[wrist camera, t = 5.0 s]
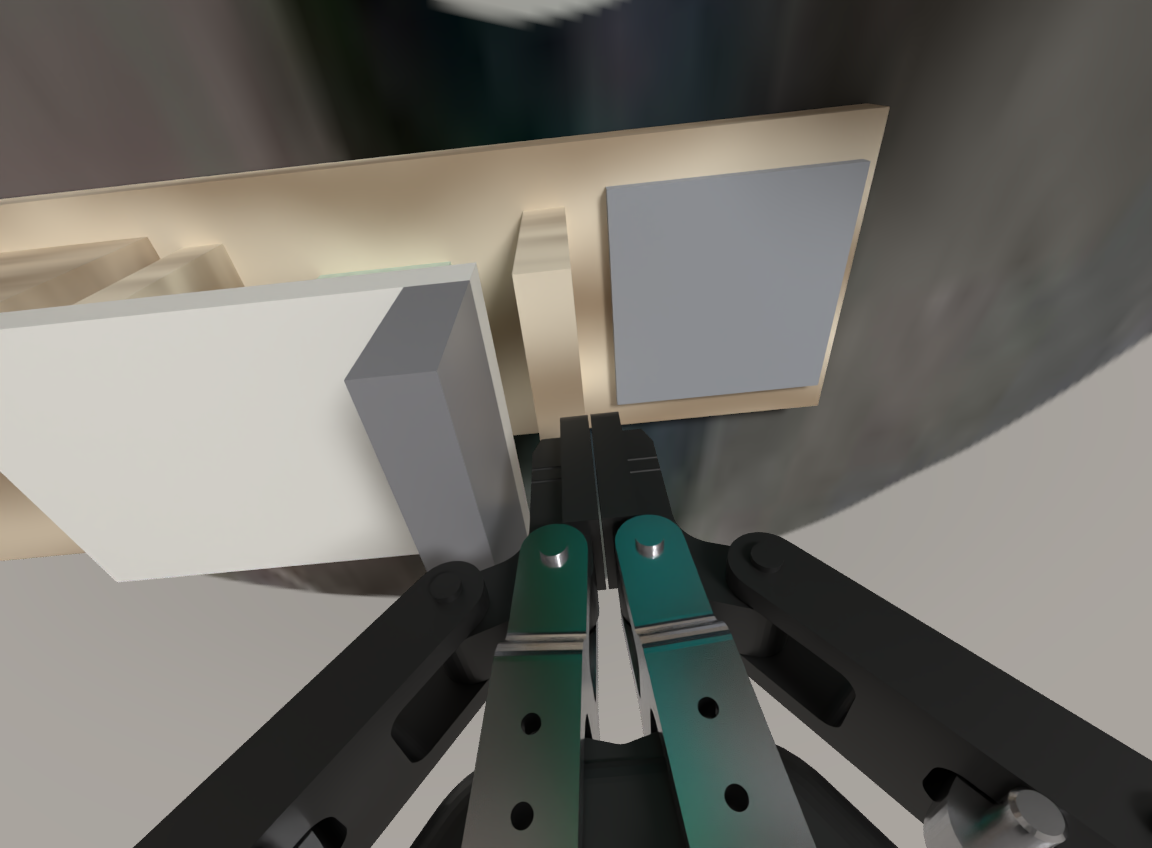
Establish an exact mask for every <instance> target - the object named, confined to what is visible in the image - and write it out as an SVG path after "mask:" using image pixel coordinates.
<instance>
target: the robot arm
mask: <svg viewBox="0 0 1152 848" xmlns="http://www.w3.org/2000/svg"><path fill="white" fill-rule="evenodd" d="M590 416H591V426H592V436H593V446H594V456H595V465H596V475H597V484H598V493H599V502H600V511H601V520H602V529H603V538H604V547H605V556H606V565H607V575H608V584H609V589H614V588H618V592H619V599H620V608H621V620H622V626H623V631H624V635H625V640H626V645H627V650H628V655H629V659H630V664H631V669H632V674H633V679H634V683H635V688H636V693H637V698H638V702H639V708H640V713H641V720H642V727H643V734H644V737H642V738H639V739H637V740H634V741H632V742H629V743H626V744H614V743H609V742H604V741H600V731H599V716H598V616H599V604H598V603H599V602H598V591H597V590H606V583H605V573H604V563H603V554H602V544H601V535H600V525H599V516H598V506H597V496H596V487H595V477H594V468H593V458H592V449H591V440H590V430H589V421H588V415H581V416H571V417H562V418H560V438H550V439H541V441H540V443H539V444H538V446H537V447H536V449H535V451H534V452H533V458H532V484H531V503H530V526H529V535H528V536H527V537H526V539H525V540H524V541H523V543H522V545H521V549H520V550H519V551H518V552H517V553H516V554H515V555H514V556H512V557H511V558H509V559H508V560H506V561H504V562H502V563H499V564H497V565H494V566H492V567H489V568H486V569H484V570H481V571H479V569H478V568H477V567H475V566H474V565H472V564H470V563H468V562H464V561H450V562H446V563H443V564H440V565H438V566H436V567H434V568H432V569H431V570H429V571H428V572H427V573H426V574H424V575H423V576H422V577H421V578H420V579H419V580H418V581H417V582H416V583H415V584H414V585H413V586H412V587H410V588H409V589H408V590H407V591H406V592H405V593H404V594H403V595H402V596H401V597H400V598H399V599H398V600H397V601H396V602H395V603H393V604H392V605H391V606H390V607H389V608H388V609H387V610H386V611H385V612H384V613H383V614H382V615H381V616H380V617H378V618H377V619H376V620H375V621H374V622H373V623H372V624H371V625H370V626H369V627H368V628H367V629H366V630H365V631H364V632H362V633H361V634H360V635H359V636H358V637H357V638H356V639H355V640H354V641H353V642H352V643H351V644H350V645H349V646H348V647H346V648H345V649H344V650H343V651H342V653H340V654H339V655H338V656H337V657H336V658H335V659H334V660H333V661H332V662H331V663H329V664H328V665H327V666H326V667H325V668H324V669H323V670H322V671H321V672H320V673H319V674H318V675H317V676H316V677H314V678H313V679H312V680H311V681H310V682H309V683H308V684H307V685H306V686H305V687H304V688H303V689H302V690H301V691H300V692H299V693H297V694H296V695H295V696H294V697H293V698H292V699H291V700H290V701H289V702H288V703H287V704H286V705H285V706H284V707H283V708H282V709H280V710H279V711H278V712H277V713H276V714H275V715H274V716H273V717H272V718H271V719H270V720H269V721H268V722H267V723H265V724H264V725H263V726H262V727H261V728H260V729H259V730H258V731H257V732H256V733H255V734H254V735H253V736H252V737H251V738H249V740H247V741H246V742H245V743H244V744H243V745H242V746H241V747H240V748H239V749H238V750H237V751H236V752H235V753H233V754H232V755H231V756H230V757H229V758H228V759H227V760H226V761H225V762H224V763H223V764H222V765H221V766H220V767H219V768H218V769H216V770H215V771H214V772H213V773H212V774H211V775H210V776H209V777H208V778H207V779H206V780H205V781H204V782H203V783H202V784H200V785H199V786H198V787H197V788H196V789H195V790H194V791H193V792H192V793H191V794H190V795H189V796H188V797H187V798H186V799H185V800H184V801H182V802H181V803H180V804H179V805H178V806H177V807H176V808H175V809H174V810H173V811H172V812H171V813H170V814H169V815H168V816H166V817H165V818H164V819H163V820H162V821H161V822H160V823H159V824H158V825H157V826H156V827H155V828H154V829H153V830H151V831H150V832H149V833H148V834H147V835H146V836H145V837H144V838H143V839H142V840H141V841H140V842H139V843H138V844H136V846H134V847H133V848H371V846H372V845H373V843H375V841H376V840H377V839H378V837H379V836H380V835H381V834H382V832H383V831H384V830H385V829H386V827H387V826H388V825H389V823H390V822H391V821H392V820H393V818H394V817H395V816H396V815H397V813H398V812H399V811H400V809H401V808H402V807H403V806H404V804H405V803H406V802H407V801H408V799H409V798H410V797H411V796H412V794H413V793H414V792H415V791H416V789H417V788H418V787H419V785H420V784H421V783H422V782H423V780H424V779H425V778H426V776H427V775H428V774H429V773H430V771H431V770H432V769H433V768H434V766H435V765H436V764H437V763H438V761H439V760H440V759H441V757H442V756H443V755H444V754H445V752H446V751H447V750H448V749H449V747H450V746H451V745H452V743H453V742H454V741H455V740H456V738H457V737H458V736H459V734H460V733H461V732H462V731H463V729H464V728H465V727H466V726H467V724H468V723H469V722H470V721H471V719H472V718H473V717H474V715H475V714H476V713H477V712H478V711H479V709H480V708H481V706H482V705H483V704H484V703H485V701H486V706H485V712H484V718H483V724H482V729H481V735H480V741H479V747H478V753H477V759H476V764H475V770H474V772H472V773H471V774H469V775H468V776H467V777H466V778H465V779H464V780H463V781H461V782H460V783H459V784H458V785H457V786H456V787H455V788H454V789H453V790H452V791H451V792H450V793H449V795H448V796H447V797H446V798H445V799H444V800H443V802H442V803H441V804H440V805H439V807H438V808H437V809H436V811H435V812H434V814H433V815H432V816H431V818H430V819H429V821H428V822H427V824H426V825H425V826H424V828H423V829H422V831H421V832H420V834H419V835H418V837H417V838H416V839H415V841H414V842H413V844H412V845H411V846H410V848H898V847H897V846H896V845H895V844H894V843H892V842H891V841H890V840H889V839H888V838H887V837H886V836H885V835H884V834H883V833H882V832H881V831H880V830H879V829H878V828H877V827H876V826H874V825H873V824H872V823H871V822H870V821H869V820H868V819H867V818H866V817H865V816H864V815H863V814H862V813H861V812H860V811H859V810H858V809H856V808H855V807H854V806H853V805H852V804H851V803H850V802H849V801H848V800H847V799H846V798H845V797H844V796H843V795H842V794H840V793H839V792H838V791H837V790H836V789H835V788H834V787H833V786H832V785H831V784H830V783H829V782H828V781H827V780H826V779H825V778H823V776H821V775H820V774H819V773H818V772H817V771H816V770H815V769H813V768H812V767H810V766H809V765H808V764H807V763H806V762H804V761H803V760H801V759H800V758H799V757H797V756H795V755H794V754H792V753H791V752H789V751H787V750H786V749H784V748H782V747H780V746H778V745H776V744H775V743H774V740H773V737H772V735H771V732H770V730H769V727H768V725H767V722H766V720H765V717H764V715H763V712H762V710H761V707H760V705H759V702H758V700H757V697H756V695H755V692H754V689H753V687H752V685H751V682H750V680H749V677H750V678H751V679H752V680H754V681H755V682H756V683H757V684H758V685H759V686H761V687H762V688H763V689H764V690H765V691H767V692H768V693H769V694H770V695H771V696H773V697H774V698H775V699H776V700H777V701H778V702H780V703H781V704H782V705H783V706H784V707H786V708H787V709H788V710H789V711H791V713H793V714H794V715H795V716H796V717H797V718H799V719H800V720H801V721H802V722H803V723H805V724H806V725H807V726H808V727H809V728H810V729H812V730H813V731H814V732H815V733H816V734H818V735H819V736H820V737H821V738H822V739H824V740H825V741H826V742H827V743H828V744H829V745H831V746H832V747H833V748H834V749H835V750H837V751H838V752H839V753H840V754H841V755H842V756H844V757H845V758H846V759H847V760H849V761H850V762H851V763H852V764H853V765H854V766H856V767H857V768H858V769H859V770H860V771H861V772H863V773H864V774H865V775H866V776H868V777H869V778H870V779H871V780H872V781H873V782H875V783H876V784H877V785H878V786H879V787H880V788H882V789H883V790H884V791H885V792H887V793H888V794H889V795H890V796H891V797H892V798H894V799H895V800H896V801H897V802H898V803H900V804H901V805H902V806H903V807H904V808H905V809H907V810H908V811H909V812H910V813H911V814H912V815H914V816H915V817H916V818H917V819H918V820H920V821H921V822H922V823H923V824H924V826H923V827H924V838H925V843H926V846H927V848H1152V761H1151V760H1150V759H1148V758H1146V757H1145V756H1143V755H1141V754H1140V753H1138V752H1136V751H1135V750H1133V749H1131V748H1130V747H1128V746H1126V745H1125V744H1123V743H1121V742H1120V741H1118V740H1116V739H1115V738H1113V737H1112V736H1110V735H1108V734H1107V733H1105V732H1103V731H1102V730H1100V729H1098V728H1097V727H1095V726H1093V725H1092V724H1090V723H1088V722H1087V721H1085V720H1083V719H1082V718H1080V717H1078V716H1077V715H1075V714H1073V713H1072V712H1070V711H1068V710H1067V709H1065V708H1064V707H1062V706H1060V705H1059V704H1057V703H1055V702H1054V701H1052V700H1050V699H1049V698H1047V697H1045V696H1044V695H1042V694H1040V693H1039V692H1037V691H1035V690H1033V689H1032V688H1030V687H1029V686H1027V685H1025V684H1024V683H1022V682H1020V681H1019V680H1017V679H1015V678H1014V677H1012V676H1011V675H1009V674H1007V673H1006V672H1004V671H1002V670H1001V669H999V668H997V667H996V666H994V665H992V664H991V663H989V662H987V661H986V660H984V659H982V658H981V657H979V656H977V655H976V654H974V653H972V652H971V651H969V650H967V649H966V648H964V647H963V646H961V645H959V644H958V643H956V642H954V641H953V640H951V639H949V638H948V637H946V636H944V635H943V634H941V633H939V632H938V631H936V630H934V629H933V628H931V627H929V626H928V625H926V624H924V623H923V622H921V621H919V620H917V619H916V618H914V617H913V616H911V615H909V614H908V613H906V612H905V611H903V610H901V609H900V608H898V607H896V606H895V605H893V604H891V603H890V602H888V601H886V600H885V599H883V598H881V597H880V596H878V595H876V594H875V593H873V592H872V591H870V590H868V589H866V588H865V587H863V586H862V585H860V584H858V583H857V582H855V581H853V580H851V579H850V578H848V577H847V576H845V575H843V574H842V573H840V572H838V571H837V570H835V569H833V568H832V567H830V566H828V565H826V564H825V563H823V562H822V561H820V560H819V559H817V558H815V557H813V556H812V555H810V554H809V553H807V552H805V551H804V550H802V549H800V548H799V547H797V546H795V545H794V544H792V543H790V542H789V541H787V540H785V539H783V538H781V537H779V536H776V535H773V534H769V533H763V532H754V533H748V534H745V535H742V536H740V537H738V538H737V539H736V540H735V541H734V542H733V543H732V544H731V546H727V545H721V544H716V543H710V542H705V541H702V540H699V539H696V538H694V537H692V536H690V535H689V534H687V533H686V532H684V531H683V530H682V529H681V528H680V527H679V526H678V525H677V523H676V522H675V520H674V518H673V515H672V511H671V507H670V504H669V500H668V496H667V492H666V489H665V485H664V481H663V477H662V474H661V471H660V466H659V462H658V459H657V455H656V451H655V447H654V443H653V441H652V440H651V438H650V437H649V436H648V435H647V434H646V433H645V432H644V431H643V430H642V429H634V430H625V431H622V427H621V422H620V417H619V412H618V411H617V412H608V413H598V414H590ZM748 676H749V677H748Z"/></svg>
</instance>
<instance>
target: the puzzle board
mask: <svg viewBox="0 0 1152 848" xmlns="http://www.w3.org/2000/svg"><path fill="white" fill-rule="evenodd" d="M889 109H890V107H889V106H882V105H875V104H868V103H865V104H856V105H847V106H838V107H829V108H820V109H811V110H802V111H793V112H784V113H775V114H766V115H757V116H748V117H739V118H730V119H721V120H711V121H702V122H693V123H684V124H675V125H666V126H657V127H648V128H639V129H630V130H621V131H612V132H603V133H594V134H585V135H576V136H567V137H558V138H549V139H540V140H531V141H522V142H513V143H504V144H495V145H486V146H477V147H468V148H459V149H449V150H440V151H431V152H422V153H413V154H404V155H395V156H386V157H377V158H368V159H359V160H350V161H341V162H332V163H323V164H314V165H305V166H296V167H287V168H278V169H269V170H260V171H251V172H242V173H233V174H224V175H215V176H206V177H197V178H187V179H178V180H169V181H160V182H151V183H142V184H133V185H124V186H115V187H106V188H97V189H88V190H79V191H70V192H61V193H52V194H43V195H34V196H25V197H16V198H7V199H0V313H2V312H12V311H21V310H31V309H40V308H49V307H59V306H68V305H78V304H87V303H97V302H106V301H116V300H125V299H135V298H144V297H153V296H163V295H172V294H182V293H191V292H201V291H210V290H220V289H229V288H238V287H248V286H257V285H267V284H276V283H286V282H295V281H305V280H314V279H317V278H318V277H319V276H320V275H327V274H337V273H346V272H355V271H365V270H374V269H384V268H393V267H403V266H412V265H421V264H431V263H440V262H450V261H451V265H456V264H465V263H475V262H476V264H477V269H478V273H479V278H480V283H481V287H482V292H483V297H484V302H485V306H486V311H487V316H488V320H489V325H490V330H491V334H492V339H493V344H494V349H495V353H496V358H497V363H498V367H499V372H500V377H501V382H502V386H503V391H504V396H505V400H506V405H507V410H508V414H509V419H510V424H511V429H512V433H513V435H522V434H532V433H539V435H540V441H541V439H550V438H560V418H562V417H571V416H581V415H588V421H589V428H592V426H591V416H590V414H598V413H608V412H617V411H618V412H619V417H620V422H621V425H623V424H633V423H644V422H654V421H664V420H674V419H684V418H694V417H705V416H715V415H725V414H735V413H745V412H755V411H766V410H776V409H786V408H796V407H806V406H816V405H818V402H819V398H820V394H821V389H822V385H823V381H824V377H825V373H826V369H827V365H828V361H829V356H830V352H831V348H832V344H833V340H834V336H835V332H836V328H837V323H838V319H839V315H840V311H841V307H842V303H843V299H844V295H845V290H846V286H847V282H848V278H849V274H850V270H851V266H852V262H853V257H854V253H855V249H856V245H857V241H858V237H859V233H860V229H861V224H862V220H863V216H864V212H865V208H866V204H867V200H868V196H869V191H870V187H871V183H872V179H873V175H874V171H875V167H876V163H877V158H878V154H879V150H880V146H881V142H882V138H883V134H884V130H885V125H886V121H887V117H888V113H889ZM857 159H865V160H868V161H871V162H870V166H869V171H868V175H867V179H866V183H865V187H864V192H863V196H862V200H861V204H860V209H859V213H858V217H857V221H856V226H855V230H854V234H853V238H852V243H851V247H850V251H849V255H848V260H847V264H846V268H845V272H844V277H843V281H842V285H841V289H840V294H839V298H838V302H837V306H836V310H835V315H834V319H833V323H832V327H831V332H830V336H829V340H828V344H827V349H826V353H825V357H824V361H823V366H822V370H821V374H820V378H819V383H818V385H814V386H804V387H794V388H784V389H774V390H764V391H754V392H744V393H734V394H723V395H713V396H703V397H693V398H683V399H673V400H663V401H653V402H643V403H633V404H623V405H618V404H617V399H616V381H615V361H614V342H613V322H612V303H611V283H610V264H609V244H608V225H607V205H606V187H608V186H617V185H627V184H636V183H645V182H654V181H664V180H673V179H682V178H691V177H700V176H710V175H719V174H728V173H737V172H747V171H756V170H765V169H774V168H783V167H793V166H802V165H811V164H820V163H830V162H839V161H848V160H857ZM79 553H86V552H85V551H84V550H83V549H81V548H80V547H79V546H78V545H77V544H76V543H75V542H74V541H73V540H72V539H71V538H70V537H69V536H68V535H67V534H66V533H65V532H64V531H62V530H61V529H60V528H59V527H58V526H57V525H56V524H55V523H54V522H53V521H52V520H51V519H50V518H49V517H48V516H47V515H46V514H45V513H43V512H42V511H41V510H40V509H39V508H38V507H37V506H36V505H35V504H34V503H33V502H32V501H31V500H30V499H29V498H28V497H27V496H26V495H25V494H23V493H22V492H21V491H20V490H19V489H18V488H17V487H16V486H15V485H14V484H13V483H12V482H11V481H10V480H9V479H8V478H7V477H6V476H4V475H3V474H2V473H1V472H0V561H5V560H16V559H26V558H37V557H47V556H57V555H68V554H79Z"/></svg>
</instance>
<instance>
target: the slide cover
mask: <svg viewBox="0 0 1152 848" xmlns="http://www.w3.org/2000/svg"><path fill="white" fill-rule="evenodd" d="M0 472H1V473H2V474H3V475H4V476H6V477H7V478H8V479H9V480H10V481H11V482H12V483H13V484H14V485H15V486H16V487H17V488H18V489H19V490H20V491H21V492H22V493H23V494H25V495H26V496H27V497H28V498H29V499H30V500H31V501H32V502H33V503H34V504H35V505H36V506H37V507H38V508H39V509H40V510H41V511H42V512H43V513H45V514H46V515H47V516H48V517H49V518H50V519H51V520H52V521H53V522H54V523H55V524H56V525H57V526H58V527H59V528H60V529H61V530H62V531H64V532H65V533H66V534H67V535H68V536H69V537H70V538H71V539H72V540H73V541H74V542H75V543H76V544H77V545H78V546H79V547H80V548H81V549H83V550H84V551H85V552H86V553H87V554H88V555H89V556H90V557H91V558H92V559H93V560H94V561H95V562H96V563H97V564H98V565H100V567H102V568H103V569H104V570H105V571H106V572H107V573H108V574H109V575H110V576H111V577H112V578H113V579H114V580H115V581H116V582H125V581H136V580H148V579H157V578H168V577H180V576H190V575H201V574H212V573H222V572H233V571H244V570H254V569H265V568H276V567H286V566H297V565H308V564H318V563H329V562H339V561H350V560H361V559H371V558H382V557H393V556H403V555H414V554H419V555H420V557H421V559H422V562H423V564H424V566H425V568H426V571H427V572H428V571H429V570H431V569H432V568H434V567H436V566H438V565H440V564H443V563H446V562H450V561H464V562H468V563H470V564H472V565H474V566H475V567H477V568H478V569H479V571H481V570H484V569H486V568H489V567H492V566H494V565H497V564H499V563H502V562H504V561H506V560H508V559H509V558H511V557H512V556H514V555H515V554H516V553H517V552H518V551H519V550H520V549H521V545H522V543H523V541H524V540H525V539H526V537H527V536H528V535H529V526H530V513H529V509H528V504H527V499H526V494H525V490H524V485H523V480H522V476H521V471H520V466H519V462H518V457H517V452H516V447H515V443H514V438H513V433H512V429H511V424H510V419H509V414H508V410H507V405H506V400H505V396H504V391H503V386H502V382H501V377H500V372H499V367H498V363H497V358H496V353H495V349H494V344H493V339H492V334H491V330H490V325H489V320H488V316H487V311H486V306H485V302H484V297H483V292H482V287H481V283H480V278H479V273H478V269H477V264H476V262H475V263H465V264H456V265H446V266H437V267H427V268H418V269H409V270H399V271H390V272H380V273H371V274H361V275H352V276H342V277H333V278H324V279H314V280H305V281H295V282H286V283H276V284H267V285H257V286H248V287H238V288H229V289H220V290H210V291H201V292H191V293H182V294H172V295H163V296H153V297H144V298H135V299H125V300H116V301H106V302H97V303H87V304H78V305H68V306H59V307H49V308H40V309H31V310H21V311H12V312H2V313H0Z"/></svg>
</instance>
